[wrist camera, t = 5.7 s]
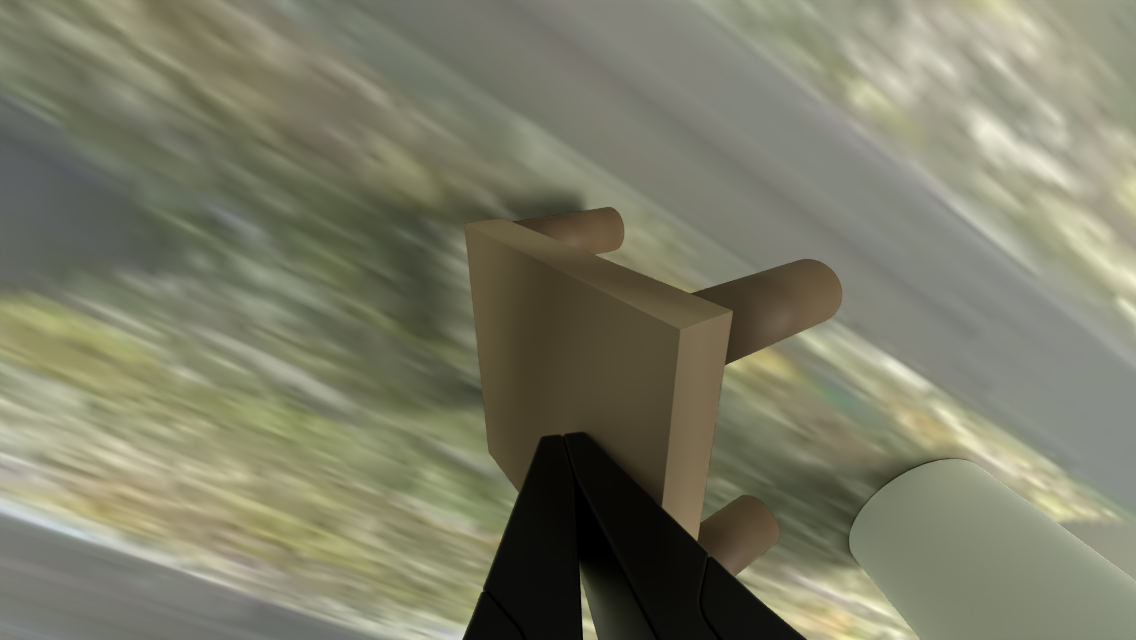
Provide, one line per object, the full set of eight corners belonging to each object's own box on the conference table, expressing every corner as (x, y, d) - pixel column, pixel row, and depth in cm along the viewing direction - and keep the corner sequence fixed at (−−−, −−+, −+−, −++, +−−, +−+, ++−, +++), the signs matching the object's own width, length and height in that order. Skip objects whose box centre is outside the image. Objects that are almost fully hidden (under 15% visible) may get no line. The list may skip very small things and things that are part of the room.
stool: (850, 268, 8) (680, 329, 6) (774, 555, 11) (645, 661, 9) (597, 203, 13) (464, 223, 11) (594, 407, 16) (488, 452, 14)
